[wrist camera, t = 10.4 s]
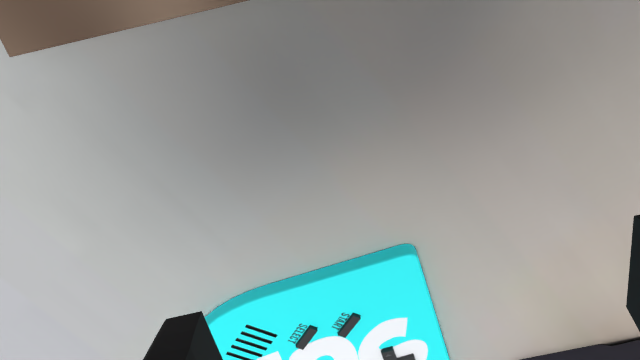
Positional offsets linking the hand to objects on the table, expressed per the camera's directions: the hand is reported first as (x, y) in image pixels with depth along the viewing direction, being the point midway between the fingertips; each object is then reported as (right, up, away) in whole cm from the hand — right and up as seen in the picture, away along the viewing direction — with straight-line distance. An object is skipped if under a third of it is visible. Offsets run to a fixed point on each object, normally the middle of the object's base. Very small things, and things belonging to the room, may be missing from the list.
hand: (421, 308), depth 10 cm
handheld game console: (0, -8, +18) cm, 19 cm away
